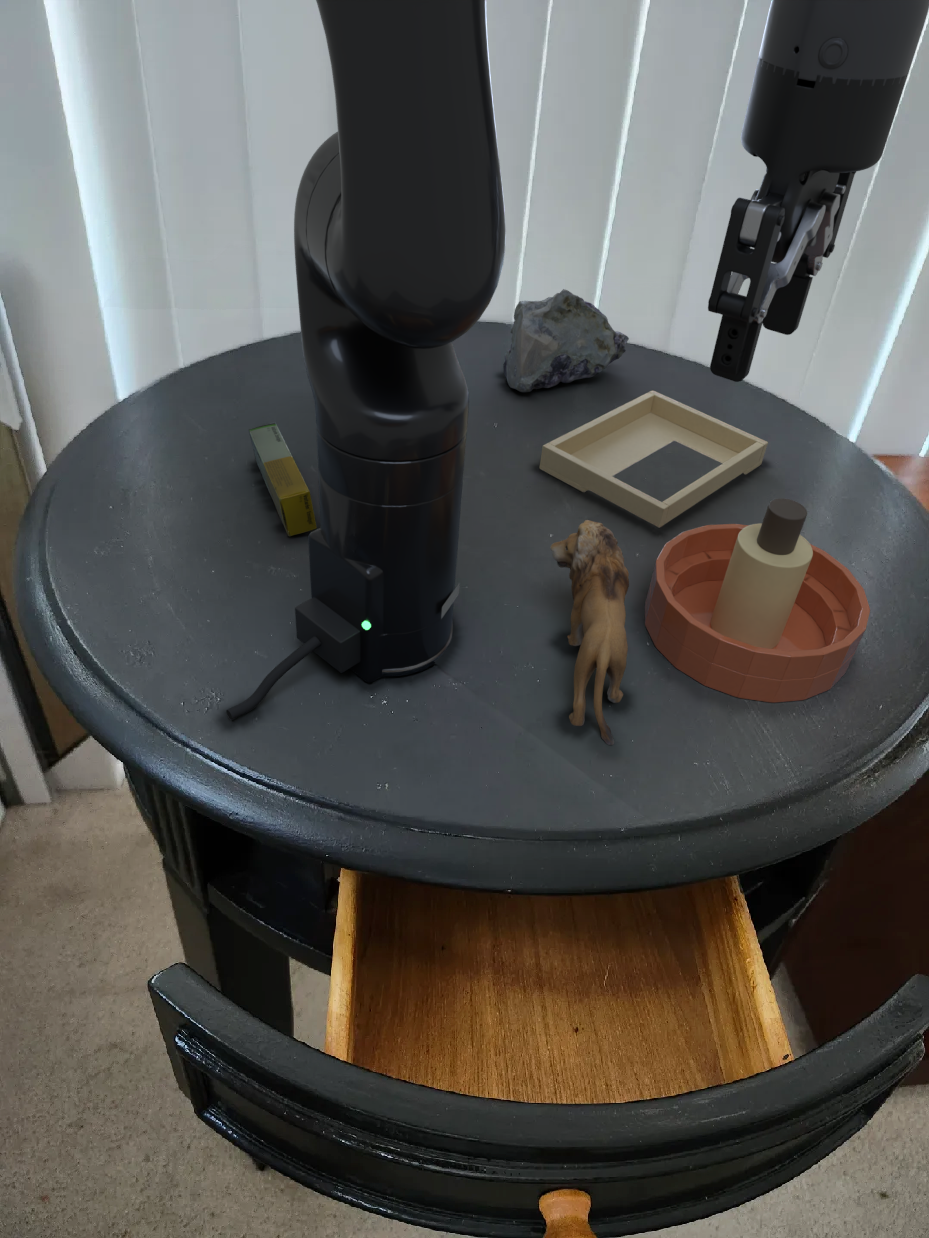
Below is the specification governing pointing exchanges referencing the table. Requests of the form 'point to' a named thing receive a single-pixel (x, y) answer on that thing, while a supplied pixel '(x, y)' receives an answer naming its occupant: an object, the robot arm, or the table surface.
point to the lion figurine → (596, 615)
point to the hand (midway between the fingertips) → (754, 352)
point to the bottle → (764, 576)
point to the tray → (639, 433)
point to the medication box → (283, 479)
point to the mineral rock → (559, 342)
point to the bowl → (788, 672)
